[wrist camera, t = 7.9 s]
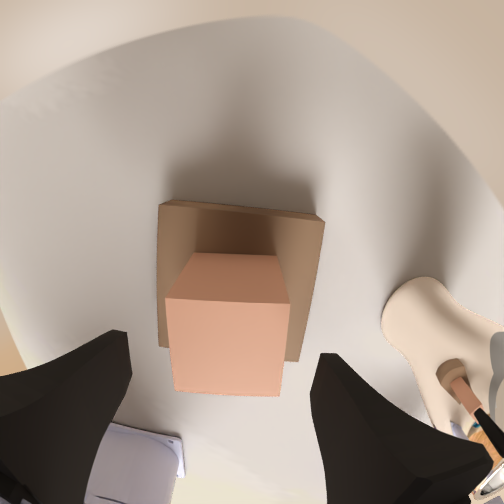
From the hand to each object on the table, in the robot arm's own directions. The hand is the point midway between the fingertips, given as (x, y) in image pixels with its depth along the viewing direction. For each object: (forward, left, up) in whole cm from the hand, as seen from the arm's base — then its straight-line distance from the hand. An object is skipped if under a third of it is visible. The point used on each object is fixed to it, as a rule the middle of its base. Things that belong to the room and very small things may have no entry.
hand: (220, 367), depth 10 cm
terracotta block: (0, 0, -7) cm, 7 cm away
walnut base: (0, 0, -10) cm, 10 cm away
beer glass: (+14, -2, -10) cm, 17 cm away
